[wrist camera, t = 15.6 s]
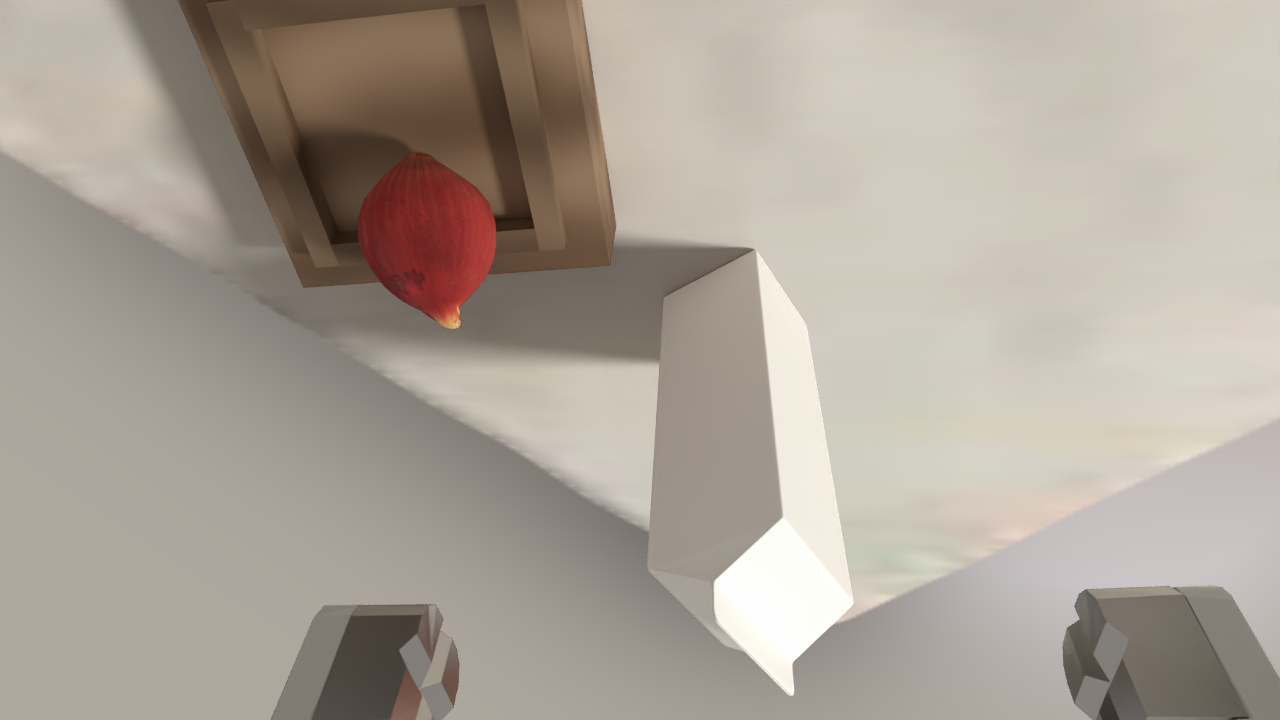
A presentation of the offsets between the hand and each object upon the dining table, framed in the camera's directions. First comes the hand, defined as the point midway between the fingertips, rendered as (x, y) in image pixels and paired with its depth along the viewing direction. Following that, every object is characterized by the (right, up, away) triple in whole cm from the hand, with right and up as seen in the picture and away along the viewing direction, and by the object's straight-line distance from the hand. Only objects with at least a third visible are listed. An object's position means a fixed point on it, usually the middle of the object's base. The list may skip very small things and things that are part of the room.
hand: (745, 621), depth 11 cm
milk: (+4, +6, +37) cm, 37 cm away
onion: (-11, +13, +26) cm, 31 cm away
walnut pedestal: (-12, +16, +30) cm, 36 cm away
